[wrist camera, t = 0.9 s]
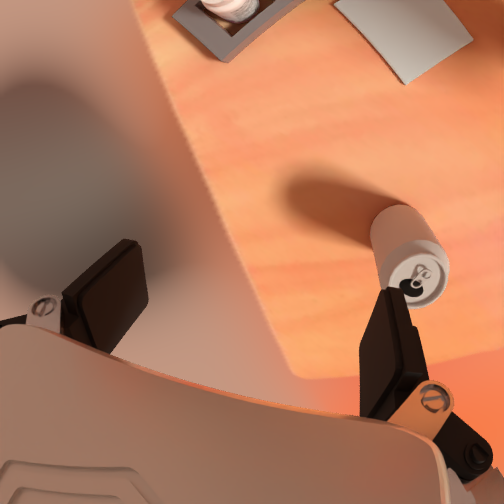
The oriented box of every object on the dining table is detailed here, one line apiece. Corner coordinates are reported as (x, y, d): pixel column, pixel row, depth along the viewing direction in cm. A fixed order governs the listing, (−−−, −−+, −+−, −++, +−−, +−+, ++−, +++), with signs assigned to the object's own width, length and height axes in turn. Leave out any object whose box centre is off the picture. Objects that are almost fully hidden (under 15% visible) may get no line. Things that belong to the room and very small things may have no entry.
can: (357, 239, 37) (365, 296, 27) (389, 190, 33) (413, 233, 23) (402, 265, 37) (421, 326, 27) (435, 221, 33) (468, 272, 23)
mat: (405, -37, 18) (406, -39, 18) (472, 40, 21) (474, 39, 21) (333, 5, 24) (333, 4, 24) (404, 85, 27) (405, 85, 26)
